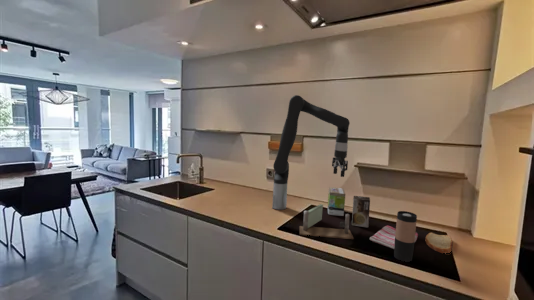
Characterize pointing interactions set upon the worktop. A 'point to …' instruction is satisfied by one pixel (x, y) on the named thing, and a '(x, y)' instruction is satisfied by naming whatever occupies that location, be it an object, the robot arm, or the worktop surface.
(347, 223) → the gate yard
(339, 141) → the robot arm
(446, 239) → the slice of bread
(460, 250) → the worktop surface
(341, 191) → the tea box
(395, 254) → the travel mug
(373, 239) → the dish towel
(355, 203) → the coffee box
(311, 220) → the gate
